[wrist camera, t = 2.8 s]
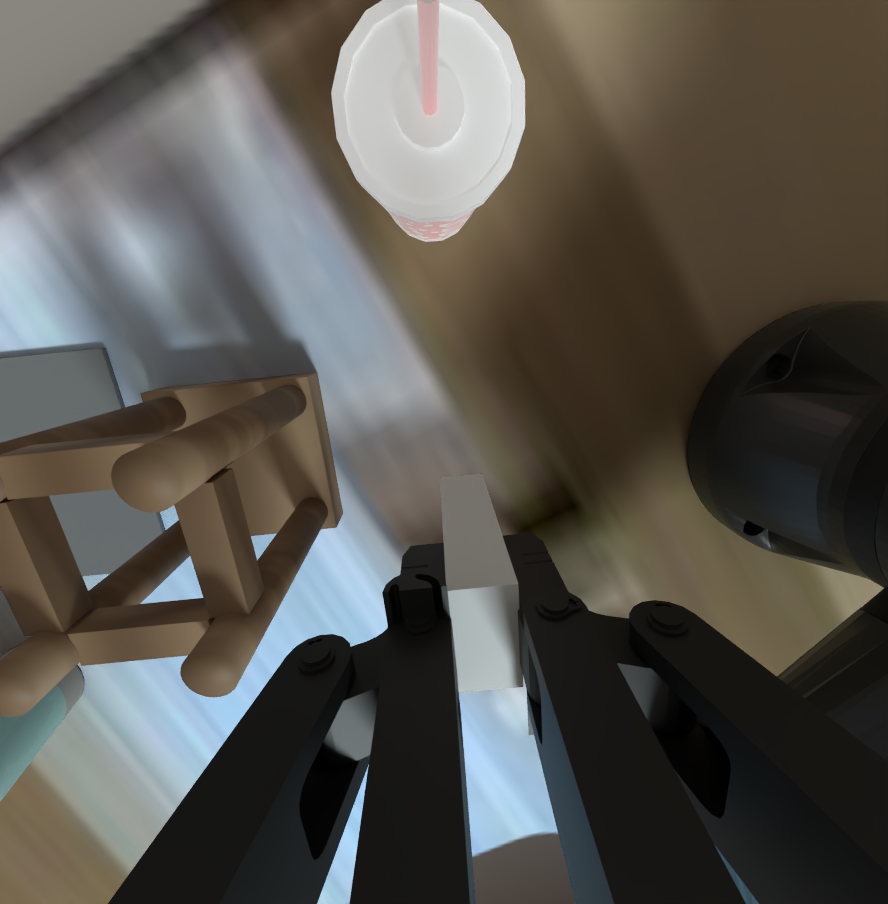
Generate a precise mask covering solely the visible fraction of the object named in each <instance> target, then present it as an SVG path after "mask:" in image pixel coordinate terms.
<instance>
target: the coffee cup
mask: <svg viewBox="0 0 888 904" xmlns="http://www.w3.org/2000/svg"><path fill="white" fill-rule="evenodd" d="M16 648H17V647H16ZM16 648H13V649H11V650H9V651H8V652H6V653H5V654H3V655H1V656H0V660H2V659H3V658H4V657H5V656H7V655H8V654H9V653H10V652H12V651H13V650H14V649H16ZM83 690H84V679H83V676H82V673H81V671H80V670H79V668H78V667H77V665H76V666H75V667H74V668H73V669H72V670H71V671H70V672H69V673H68V674H67V675H66V676H65V677H64V678H63V679H62V680H61V681H60V682H58V683H57V684H56V685H55V686H54V687H53V688H52V689H51V690H50V691H49V692H48V693H47V694H46V695H45V696H44V697H43V698H42V699H41V700H40V701H39V702H38V703H37V704H36V705H35V706H34V707H33V708H32V709H31V710H30V711H28V712H27V713H25V714H23V715H20V716H15V717H7V716H2V715H0V801H1V800H2V799H3V797H4V796H5V795H6V794H7V792H8V791H9V790H10V788H11V787H12V786H13V784H14V783H15V782H16V780H17V779H18V778H19V777H20V775H21V774H22V773H23V771H24V770H25V769H26V767H27V766H28V765H29V764H30V762H31V761H32V760H33V758H34V757H35V756H36V754H37V753H38V752H39V750H40V749H41V748H42V747H43V745H44V744H45V743H46V741H47V740H48V739H49V737H50V736H51V735H52V734H53V732H54V731H55V730H56V728H57V727H58V726H59V724H60V723H61V722H62V720H63V719H64V718H65V716H66V715H67V714H68V713H69V711H70V710H71V709H72V707H73V706H74V705H75V703H76V702H77V701H78V699H79V698H80V697H81V695H82V693H83Z"/></svg>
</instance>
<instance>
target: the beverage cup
mask: <svg viewBox="0 0 888 904" xmlns="http://www.w3.org/2000/svg"><path fill="white" fill-rule="evenodd" d="M331 96H332V104H333V113H334V121H335V130H336V138H337V140H338V143H339V145H340V147H341V149H342V151H343V153H344V155H345V157H346V159H347V161H348V163H349V165H350V167H351V169H352V172H353V174H354V176H355V178H356V180H357V181H358V182H359V183H360V185H361V186H362V187H363V188H364V189H365V190H366V191H367V192H368V193H369V194H371V195H372V196H373V197H374V198H375V199H376V200H377V201H378V202H379V203H380V204H381V205H382V206H383V207H384V208H385V209H386V210H387V211H388V212H389V214H390V215H391V216H392V218H393V219H394V221H395V222H396V223H397V224H398V225H399V226H400V227H401V228H402V229H403V230H404V231H405V232H406V233H407V234H408V235H409V236H412V237H414V238H417V239H420V240H422V241H425V242H429V241H442V240H444V239H446V238H448V237H450V236H452V235H454V234H455V233H457V232H458V231H459V230H460V229H461V227H462V226H463V225H464V224H465V222H466V221H467V220H468V219H469V217H470V216H471V214H472V213H473V211H474V210H475V208H477V207H478V206H480V205H482V204H483V203H484V202H485V201H486V200H487V199H488V197H489V196H490V195H491V194H492V192H493V191H494V190H495V189H496V187H497V186H498V185H499V184H500V182H501V181H502V180H503V179H504V177H505V176H506V175H507V173H508V172H509V171H510V169H511V167H512V164H513V161H514V158H515V155H516V152H517V149H518V146H519V143H520V140H521V137H522V134H523V131H524V128H525V80H524V77H523V74H522V71H521V68H520V66H519V63H518V60H517V57H516V54H515V51H514V48H513V46H512V43H511V40H510V37H509V36H508V35H507V34H506V33H505V31H504V30H503V29H502V28H501V27H500V25H499V24H498V23H497V22H496V21H495V20H494V18H493V17H492V16H491V15H490V14H489V13H488V11H487V10H486V9H485V8H484V7H483V6H482V4H481V3H479V2H477V1H474V0H382V1H380V2H379V3H377V4H375V5H374V6H372V7H371V8H369V9H367V10H366V11H365V12H364V14H363V15H362V17H361V18H360V20H359V21H358V23H357V24H356V26H355V27H354V29H353V30H352V32H351V34H350V35H349V37H348V38H347V40H346V41H345V43H344V44H343V46H342V47H341V50H340V55H339V59H338V64H337V69H336V73H335V78H334V82H333V87H332V91H331Z"/></svg>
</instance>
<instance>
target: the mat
mask: <svg viewBox="0 0 888 904" xmlns="http://www.w3.org/2000/svg"><path fill="white" fill-rule="evenodd" d="M122 408H125V407H124V404H123V401H122V398H121V395H120V392H119V388H118V385H117V382H116V379H115V376H114V373H113V370H112V367H111V364H110V361H109V358H108V355H107V352H106V349H105V348H100V349H90V350H80V351H70V352H60V353H49V354H39V355H29V356H19V357H9V358H0V443H1V442H5V441H8V440H12V439H15V438H19V437H22V436H26V435H30V434H33V433H37V432H40V431H44V430H47V429H51V428H54V427H58V426H62V425H65V424H69V423H72V422H76V421H79V420H83V419H86V418H90V417H93V416H97V415H101V414H104V413H108V412H111V411H115V410H118V409H122ZM49 497H50V500H51V502H52V505H53V507H54V509H55V512H56V514H57V517H58V519H59V522H60V524H61V527H62V529H63V531H64V534H65V536H66V539H67V541H68V544H69V546H70V548H71V551H72V553H73V556H74V558H75V561H76V563H77V566H78V568H79V570H80V573H81V575H82V576H89V575H99V574H109V573H112V572H114V571H115V570H116V569H117V568H119V567H120V566H121V565H122V564H124V563H125V562H126V561H128V560H129V559H130V558H131V557H133V556H134V555H135V554H136V553H138V552H139V551H140V550H142V549H143V548H144V547H145V546H147V545H148V544H149V543H150V542H152V541H153V540H154V539H156V538H157V537H158V536H159V535H161V534H162V533H163V532H164V531H165V528H164V525H163V522H162V519H161V516H160V513H159V512H152V513H151V512H144V511H140V510H137V509H135V508H133V507H131V506H129V505H128V504H127V503H125V502H124V501H123V500H122V499H121V498H120V497H119V495H118V494H117V493H116V491H115V489H112V490H102V491H92V492H82V493H71V494H61V495H51V496H49Z"/></svg>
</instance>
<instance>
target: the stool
mask: <svg viewBox="0 0 888 904" xmlns="http://www.w3.org/2000/svg"><path fill="white" fill-rule="evenodd" d="M141 397H142V400H143V403H140V404H136V405H132V406H129V407H125V408H122V409H118V410H115V411H111V412H108V413H104V414H101V415H97V416H93V417H90V418H86V419H83V420H79V421H76V422H72V423H69V424H65V425H62V426H58V427H54V428H51V429H47V430H44V431H40V432H37V433H33V434H30V435H26V436H22V437H19V438H15V439H12V440H8V441H5V442H1V443H0V586H1V588H2V590H3V593H4V595H5V597H6V599H7V601H8V603H9V605H10V607H11V609H12V611H13V613H14V615H15V617H16V620H17V622H18V624H19V626H20V628H21V630H22V632H23V634H24V636H30V635H32V636H31V637H30V638H28V639H27V640H26V641H24V642H23V643H22V644H21V645H19V646H18V647H17V648H16V649H14V650H13V651H12V652H10V653H9V654H8V655H7V656H5V657H4V658H3V659H2V660H0V715H2V716H7V717H15V716H20V715H23V714H25V713H27V712H28V711H30V710H31V709H32V708H33V707H34V706H35V705H36V704H37V703H38V702H39V701H40V700H41V699H42V698H43V697H44V696H45V695H46V694H47V693H48V692H49V691H50V690H51V689H52V688H53V687H54V686H55V685H56V684H57V683H58V682H60V681H61V680H62V679H63V678H64V677H65V676H66V675H67V674H68V673H69V672H70V671H71V670H72V669H73V668H74V667H75V666H76V665H77V664H78V663H79V662H80V663H81V666H84V665H94V664H105V663H115V662H125V661H135V660H146V659H156V658H166V657H177V656H187V655H188V657H187V658H186V659H185V661H184V662H183V664H182V666H181V677H182V680H183V682H184V683H185V684H186V686H187V687H188V688H189V689H191V690H192V691H194V692H195V693H197V694H200V695H203V696H207V697H220V696H224V695H227V694H229V693H230V692H232V691H233V690H234V689H235V688H236V686H237V684H238V682H239V680H240V679H241V677H242V675H243V673H244V671H245V669H246V667H247V666H248V664H249V662H250V660H251V658H252V656H253V654H254V653H255V651H256V649H257V647H258V645H259V643H260V641H261V639H262V638H263V636H264V634H265V632H266V630H267V628H268V626H269V625H270V623H271V621H272V619H273V617H274V615H275V613H276V612H277V610H278V608H279V606H280V604H281V602H282V600H283V598H284V597H285V595H286V593H287V591H288V589H289V587H290V585H291V584H292V582H293V580H294V578H295V576H296V574H297V572H298V570H299V569H300V567H301V565H302V563H303V561H304V559H305V557H306V556H307V554H308V552H309V550H310V548H311V546H312V544H313V543H314V541H315V539H316V537H317V535H318V533H319V531H320V529H326V528H336V527H337V525H338V523H339V521H340V519H341V517H342V514H343V510H342V505H341V499H340V494H339V488H338V483H337V477H336V472H335V466H334V461H333V456H332V450H331V445H330V439H329V434H328V428H327V423H326V417H325V412H324V407H323V401H322V396H321V390H320V385H319V379H318V374H317V373H307V374H297V375H287V376H277V377H267V378H257V379H247V380H237V381H227V382H217V383H206V384H196V385H186V386H176V387H166V388H160V389H156V390H152V391H148V392H144V393H141ZM112 489H115V491H116V493H117V494H118V495H119V497H120V498H121V499H122V500H123V501H124V502H125V503H127V504H128V505H129V506H131V507H133V508H135V509H137V510H140V511H144V512H151V513H152V512H161V511H164V510H166V509H168V508H170V507H171V506H173V505H175V508H176V511H177V515H178V518H179V520H178V521H177V522H176V523H175V524H173V525H172V526H171V527H170V528H168V529H167V530H166V531H164V532H163V533H162V534H161V535H159V536H158V537H157V538H156V539H154V540H153V541H152V542H150V543H149V544H148V545H147V546H145V547H144V548H143V549H142V550H140V551H139V552H138V553H136V554H135V555H134V556H133V557H131V558H130V559H129V560H128V561H126V562H125V563H124V564H122V565H121V566H120V567H119V568H117V569H116V570H115V571H114V572H112V573H111V574H110V575H108V576H107V577H106V578H105V579H103V580H102V581H101V582H100V583H98V584H97V585H96V586H94V587H93V588H92V589H91V590H89V591H88V590H87V587H86V585H85V583H84V580H83V578H82V575H81V573H80V570H79V568H78V566H77V563H76V561H75V558H74V556H73V553H72V551H71V548H70V546H69V544H68V541H67V539H66V536H65V534H64V531H63V529H62V527H61V524H60V522H59V519H58V517H57V514H56V512H55V509H54V507H53V505H52V502H51V500H50V497H49V496H51V495H61V494H71V493H82V492H92V491H102V490H112ZM275 533H277V535H276V536H275V537H274V539H273V540H272V541H271V543H270V544H269V546H268V547H267V548H266V550H265V551H264V552H263V554H262V555H261V556H260V558H259V559H258V561H257V559H256V555H255V551H254V547H253V544H252V540H251V536H255V535H265V534H275ZM189 556H191V559H192V562H193V565H194V569H195V572H196V575H197V578H198V581H199V585H200V588H201V591H202V594H203V597H204V598H199V599H188V600H178V601H168V602H158V603H147V604H140V603H141V602H142V601H143V600H144V599H145V598H146V597H147V596H148V595H149V594H151V593H152V592H153V591H154V590H155V589H156V588H157V587H158V586H159V585H160V584H161V583H162V582H163V581H164V580H165V579H166V578H167V577H168V576H169V575H170V574H171V573H172V572H173V571H174V570H175V569H176V568H177V567H178V566H179V565H181V564H182V563H183V562H184V561H185V560H186V559H187V558H188V557H189Z"/></svg>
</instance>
